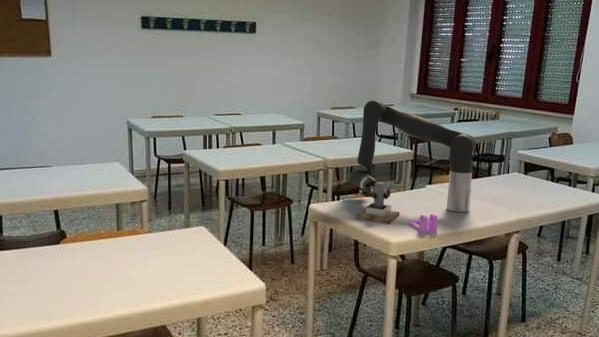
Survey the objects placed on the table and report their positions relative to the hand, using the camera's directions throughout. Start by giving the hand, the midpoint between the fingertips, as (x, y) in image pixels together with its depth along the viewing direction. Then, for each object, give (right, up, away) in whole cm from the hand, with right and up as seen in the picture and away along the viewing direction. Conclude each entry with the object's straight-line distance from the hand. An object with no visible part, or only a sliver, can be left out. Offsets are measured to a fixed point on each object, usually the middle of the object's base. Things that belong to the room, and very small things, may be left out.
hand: (381, 196), depth 218 cm
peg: (-1, -6, +4) cm, 8 cm away
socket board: (-1, -9, +5) cm, 10 cm away
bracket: (+14, -12, -8) cm, 20 cm away
